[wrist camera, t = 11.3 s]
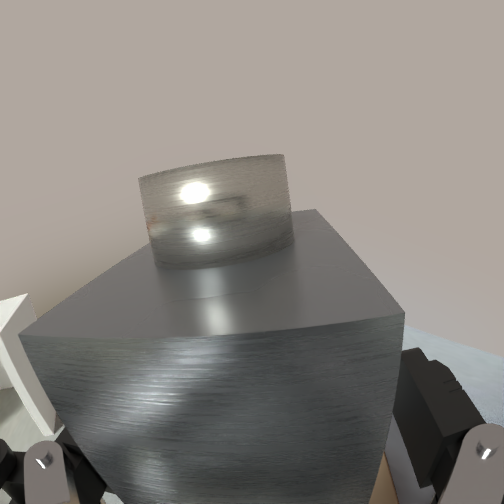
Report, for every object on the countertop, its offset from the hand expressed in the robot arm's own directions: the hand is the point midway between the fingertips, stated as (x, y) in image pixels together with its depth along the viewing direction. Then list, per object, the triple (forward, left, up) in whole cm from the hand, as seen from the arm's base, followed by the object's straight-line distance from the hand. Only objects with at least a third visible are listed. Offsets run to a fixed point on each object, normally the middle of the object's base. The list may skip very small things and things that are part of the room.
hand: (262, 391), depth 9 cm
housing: (0, +1, -9) cm, 9 cm away
